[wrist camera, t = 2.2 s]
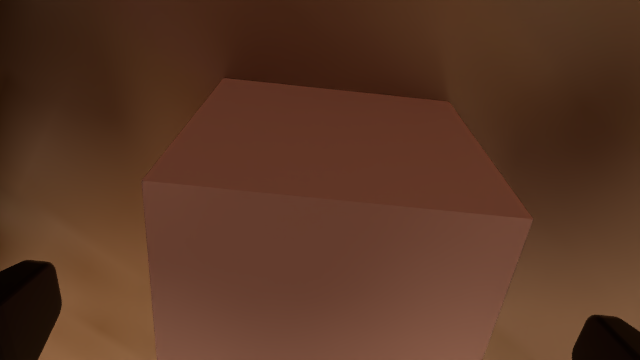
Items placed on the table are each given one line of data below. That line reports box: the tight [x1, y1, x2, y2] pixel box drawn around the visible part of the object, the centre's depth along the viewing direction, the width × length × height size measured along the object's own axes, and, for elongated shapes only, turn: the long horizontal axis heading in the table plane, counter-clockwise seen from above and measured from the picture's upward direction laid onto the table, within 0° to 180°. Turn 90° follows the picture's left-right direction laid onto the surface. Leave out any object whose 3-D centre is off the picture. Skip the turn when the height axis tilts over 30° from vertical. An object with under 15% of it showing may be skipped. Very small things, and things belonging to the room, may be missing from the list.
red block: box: [142, 78, 533, 360], centre depth 9 cm, size 5×5×5 cm
